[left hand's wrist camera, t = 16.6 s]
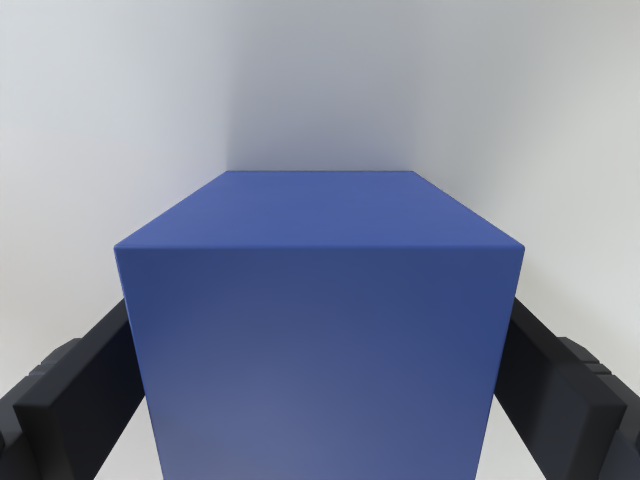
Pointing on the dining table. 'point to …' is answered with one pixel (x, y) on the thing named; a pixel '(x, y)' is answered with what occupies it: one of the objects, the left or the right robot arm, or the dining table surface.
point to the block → (319, 327)
